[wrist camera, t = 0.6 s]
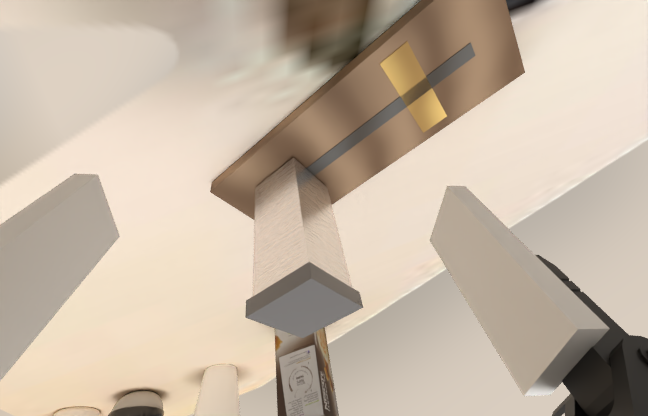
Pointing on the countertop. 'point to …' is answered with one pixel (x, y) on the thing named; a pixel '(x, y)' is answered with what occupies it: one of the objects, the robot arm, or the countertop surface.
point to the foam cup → (219, 392)
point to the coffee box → (304, 375)
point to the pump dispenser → (139, 405)
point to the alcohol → (78, 412)
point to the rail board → (387, 99)
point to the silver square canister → (298, 256)
